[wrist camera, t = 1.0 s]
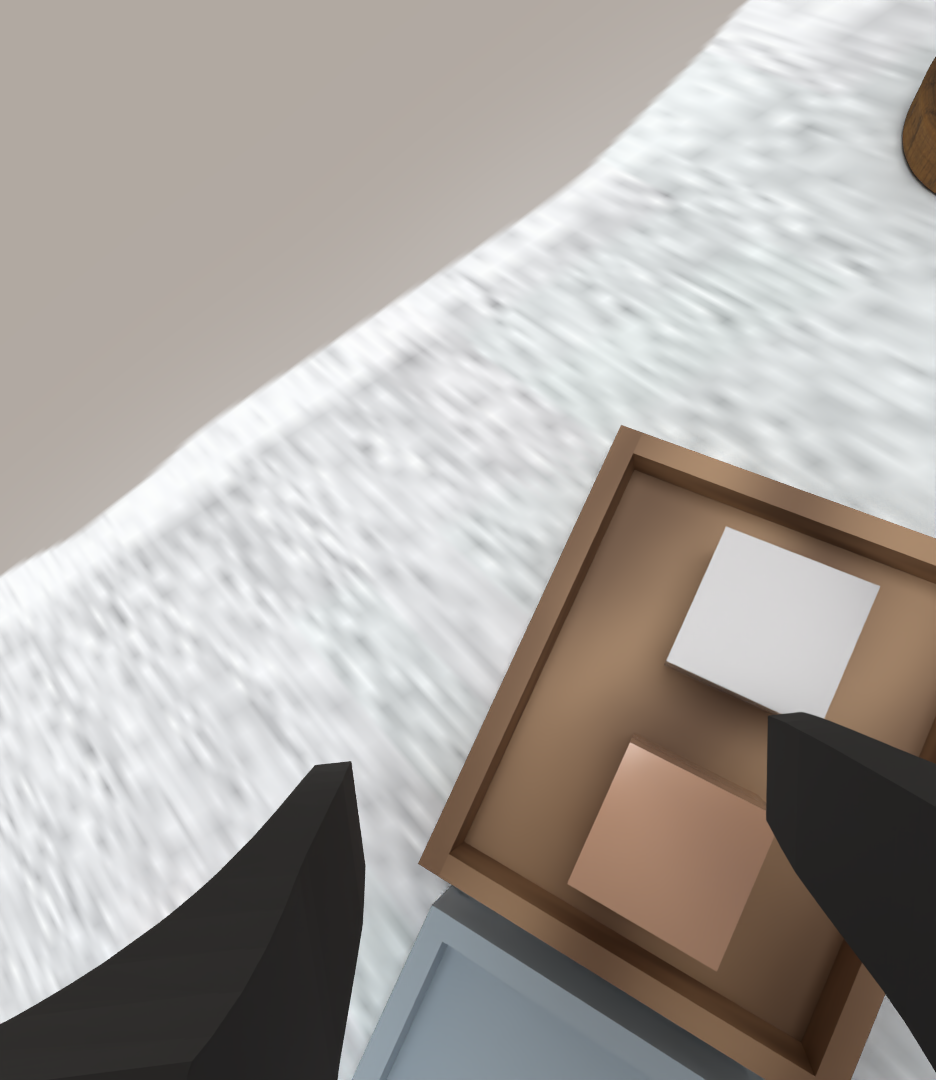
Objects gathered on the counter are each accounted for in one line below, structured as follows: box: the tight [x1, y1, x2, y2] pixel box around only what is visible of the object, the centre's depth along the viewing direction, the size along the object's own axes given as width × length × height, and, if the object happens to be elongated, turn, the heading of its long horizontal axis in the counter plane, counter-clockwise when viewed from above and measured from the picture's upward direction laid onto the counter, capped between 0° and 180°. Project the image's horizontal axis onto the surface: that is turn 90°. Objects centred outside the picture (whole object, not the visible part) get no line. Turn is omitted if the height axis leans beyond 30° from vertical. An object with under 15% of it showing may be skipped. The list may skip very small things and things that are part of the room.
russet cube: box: [567, 733, 774, 971], centre depth 22 cm, size 4×4×4 cm
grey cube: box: [664, 526, 880, 719], centre depth 22 cm, size 4×4×4 cm
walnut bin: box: [418, 425, 936, 1080], centre depth 24 cm, size 14×17×2 cm
